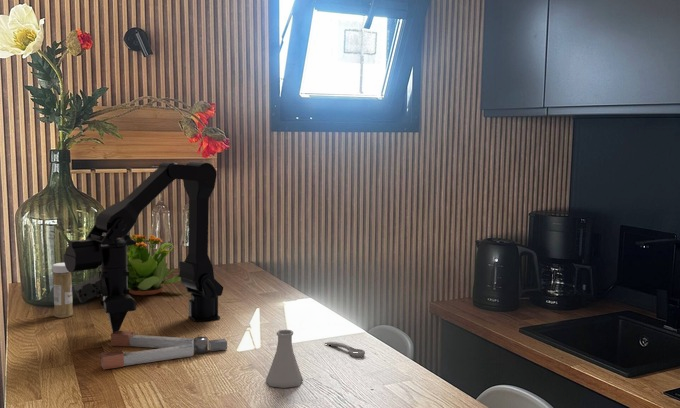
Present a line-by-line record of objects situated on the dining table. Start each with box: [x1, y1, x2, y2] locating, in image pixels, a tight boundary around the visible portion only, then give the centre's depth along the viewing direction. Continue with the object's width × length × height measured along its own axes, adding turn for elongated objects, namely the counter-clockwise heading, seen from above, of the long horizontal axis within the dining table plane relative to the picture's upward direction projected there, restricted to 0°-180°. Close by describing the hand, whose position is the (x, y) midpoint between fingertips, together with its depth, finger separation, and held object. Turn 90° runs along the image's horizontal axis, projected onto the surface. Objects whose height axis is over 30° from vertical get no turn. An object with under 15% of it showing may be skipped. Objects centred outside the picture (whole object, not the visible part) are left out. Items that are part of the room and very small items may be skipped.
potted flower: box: [127, 233, 181, 296], centre depth 193 cm, size 25×24×18 cm
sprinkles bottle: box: [51, 262, 74, 319], centre depth 168 cm, size 5×5×13 cm
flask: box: [265, 329, 304, 389], centre depth 128 cm, size 7×7×10 cm
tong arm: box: [110, 330, 209, 355], centre depth 146 cm, size 22×4×3 cm, turn 82°
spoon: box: [324, 341, 366, 358], centre depth 147 cm, size 3×12×2 cm, turn 42°
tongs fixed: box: [100, 338, 228, 370], centre depth 140 cm, size 26×4×3 cm, turn 117°
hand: (115, 332), depth 152 cm, fingers closed
